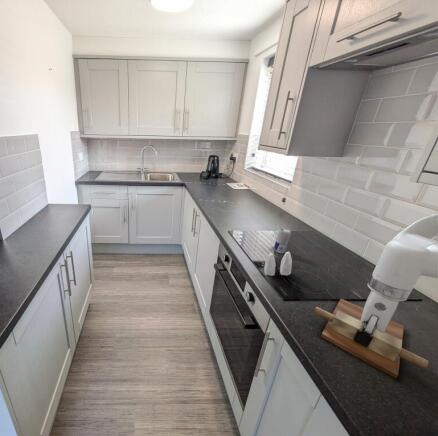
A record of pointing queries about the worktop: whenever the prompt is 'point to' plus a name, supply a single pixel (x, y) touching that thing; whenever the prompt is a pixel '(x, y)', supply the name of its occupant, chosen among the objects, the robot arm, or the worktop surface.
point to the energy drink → (282, 240)
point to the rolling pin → (379, 343)
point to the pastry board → (360, 350)
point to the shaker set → (284, 268)
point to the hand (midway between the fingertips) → (362, 337)
